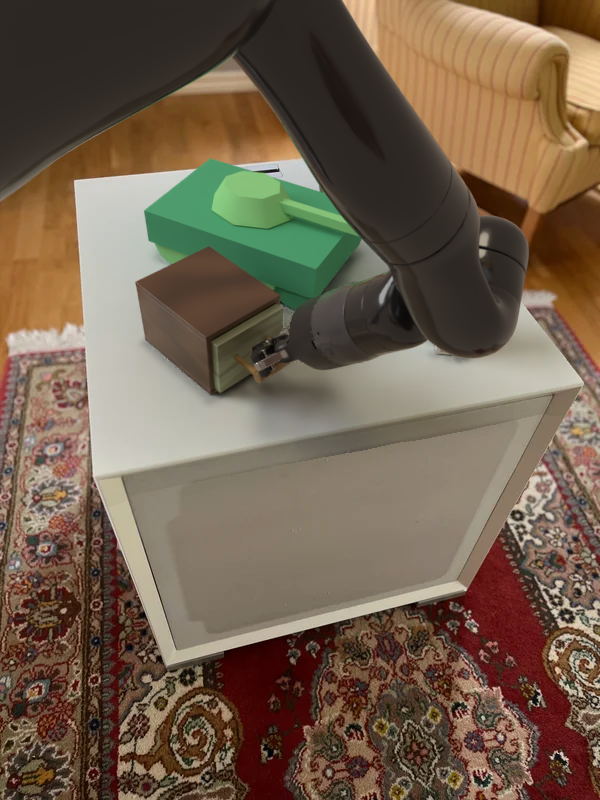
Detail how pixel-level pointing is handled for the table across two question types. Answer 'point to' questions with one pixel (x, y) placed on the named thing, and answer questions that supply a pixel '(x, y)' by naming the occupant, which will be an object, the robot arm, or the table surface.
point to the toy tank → (254, 228)
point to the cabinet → (198, 308)
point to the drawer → (244, 348)
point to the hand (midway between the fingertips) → (259, 352)
